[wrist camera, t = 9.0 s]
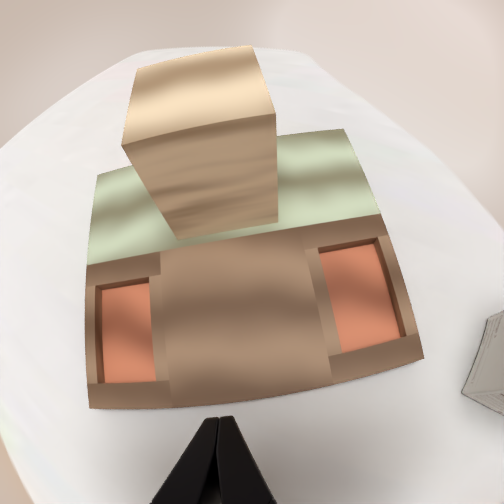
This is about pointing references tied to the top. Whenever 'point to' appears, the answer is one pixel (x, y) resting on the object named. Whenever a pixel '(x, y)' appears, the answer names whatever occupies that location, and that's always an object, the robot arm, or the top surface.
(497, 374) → the supplement box
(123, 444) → the top surface
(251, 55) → the birch block
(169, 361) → the lane board
